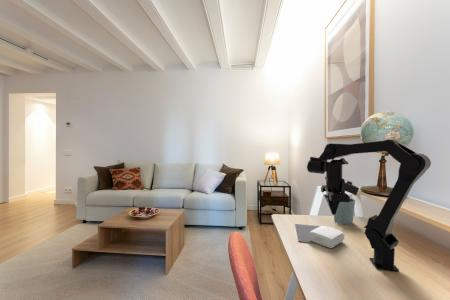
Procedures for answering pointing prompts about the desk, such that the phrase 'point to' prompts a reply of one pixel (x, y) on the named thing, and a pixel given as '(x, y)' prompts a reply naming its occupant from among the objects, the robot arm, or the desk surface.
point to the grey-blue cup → (345, 212)
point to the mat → (304, 232)
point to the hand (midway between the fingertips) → (333, 214)
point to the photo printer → (326, 236)
